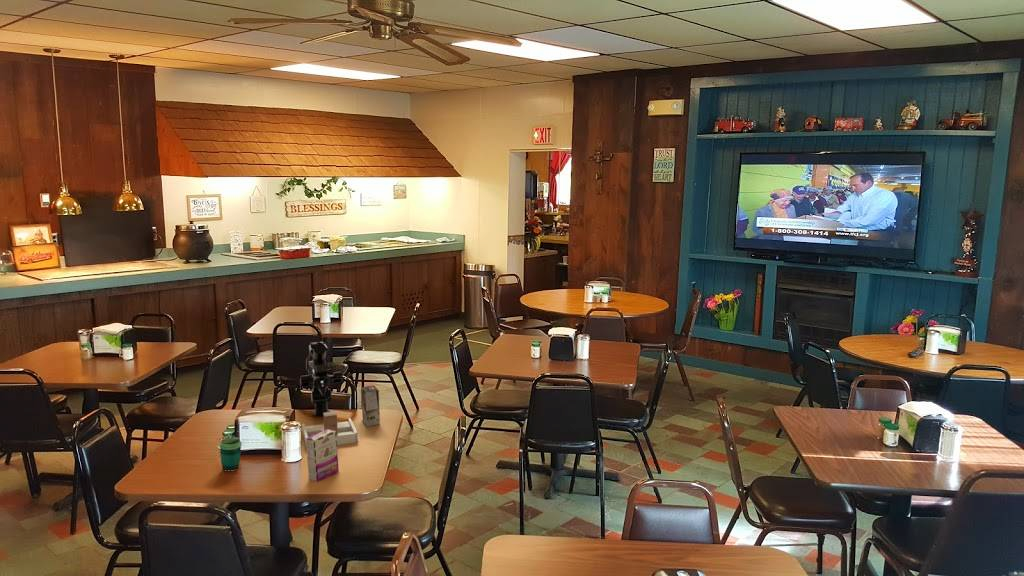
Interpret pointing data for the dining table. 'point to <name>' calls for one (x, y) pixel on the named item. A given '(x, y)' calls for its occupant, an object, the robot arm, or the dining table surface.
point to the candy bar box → (322, 455)
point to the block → (330, 421)
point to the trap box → (345, 432)
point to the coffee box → (370, 405)
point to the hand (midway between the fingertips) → (323, 395)
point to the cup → (230, 453)
